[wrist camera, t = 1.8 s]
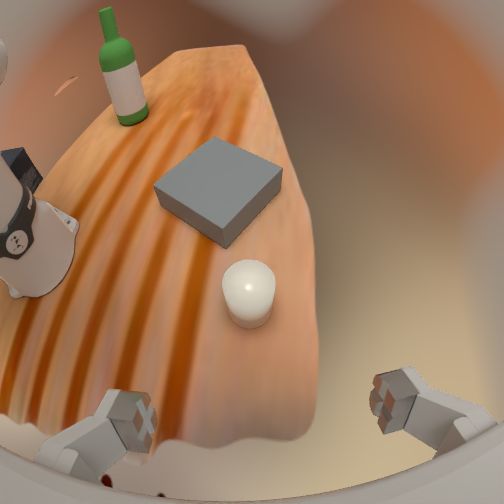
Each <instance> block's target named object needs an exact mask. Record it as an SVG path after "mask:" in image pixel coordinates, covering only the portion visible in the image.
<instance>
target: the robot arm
mask: <svg viewBox="0 0 504 504" xmlns="http://www.w3.org/2000/svg"><path fill="white" fill-rule="evenodd" d="M7 65H8V56H7V50H6V47H5V45H4V43H3V41H2V40H1V39H0V85H1V84H2V82H3V81H4V79H5V75H6V71H7ZM78 228H79V222H78V221H77V220H76V219H75V218H73V217H71V216H69V215H67V214H66V213H64V212H62V211H60V210H59V209H57V208H55V207H54V206H52V205H51V204H50V203H49V202H48V203H47V202H45V201H43V200H40V199H38V198H35V197H34V196H33V195H32V193H31V191H30V190H29V189H28V187H26V186H25V185H24V184H23V183H22V182H20V181H18V180H17V178H16V177H15V175H14V174H13V172H12V171H11V170H10V168H9V167H8V165H7V164H6V162H5V161H4V159H3V158H2V156H1V155H0V278H1V279H2V280H3V281H4V282H6V283H7V285H8V289H9V293H10V295H11V296H12V297H13V298H14V299H16V298H20V297H22V296H29V297H39V296H42V295H44V294H46V293H48V292H50V291H51V290H52V289H53V288H55V287H56V286H57V285H58V283H59V282H60V281H61V280H62V279H63V277H64V276H65V274H66V272H67V270H68V268H69V266H70V264H71V261H72V258H73V254H74V241H75V236H76V233H77V231H78ZM373 385H374V386H375V388H374V389H373V390H372V391H371V393H370V398H369V401H370V408H371V411H372V413H373V415H375V416H377V417H379V419H378V425H379V427H380V429H381V431H382V433H383V434H388V433H391V432H395V431H398V430H402V429H404V431H406V432H408V433H409V434H411V435H413V436H414V437H416V438H417V439H419V440H420V441H422V442H424V443H425V444H427V445H428V446H430V447H432V448H433V449H435V450H437V452H436V454H435V456H434V457H433V459H432V460H430V461H427V462H425V463H422V464H420V465H418V466H415V467H412V468H410V469H407V470H405V471H402V472H399V473H396V474H393V475H390V476H387V477H384V478H381V479H377V480H374V481H371V482H367V483H364V484H360V485H356V486H352V487H348V488H344V489H339V490H335V491H330V492H325V493H320V494H314V495H307V496H301V497H293V498H284V499H274V500H261V501H239V502H238V501H237V502H218V501H194V500H182V499H172V498H164V497H157V496H150V495H144V494H138V493H133V492H127V491H123V490H119V489H114V488H110V487H106V486H104V485H103V484H102V483H101V481H100V480H99V479H98V477H100V476H101V475H102V474H103V473H104V472H105V471H107V469H109V468H110V467H111V466H112V465H113V464H115V463H116V462H117V461H118V460H119V459H120V458H121V457H122V456H124V455H125V454H126V453H127V451H133V452H142V453H149V450H150V447H151V443H152V438H151V436H150V435H151V434H152V433H154V432H155V430H156V426H157V417H156V412H155V410H154V408H153V407H152V406H150V405H149V404H150V401H151V399H150V396H149V394H148V393H146V392H138V391H129V390H118V389H109V390H107V392H106V394H105V396H104V397H103V399H102V401H101V403H100V405H99V407H98V408H97V410H96V412H95V414H94V416H91V415H90V416H88V417H86V418H85V419H83V420H81V421H79V422H78V423H76V424H74V425H72V426H70V427H69V428H67V429H65V430H63V431H61V432H60V433H58V434H56V435H54V436H52V437H50V438H49V439H47V440H45V442H44V444H43V445H42V447H41V449H40V450H39V452H38V454H37V456H36V457H35V459H34V461H31V460H29V459H26V458H24V457H22V456H20V455H18V454H16V453H14V452H12V451H10V450H8V449H6V448H4V447H2V446H0V504H504V421H502V422H500V423H499V424H498V423H496V421H495V420H494V419H493V418H492V417H491V415H490V414H489V413H488V412H487V411H486V409H485V408H484V407H483V406H481V405H478V404H475V403H473V402H470V401H467V400H464V399H461V398H459V397H456V396H453V395H450V394H448V393H445V392H442V391H440V390H437V389H431V388H430V387H429V386H428V384H427V383H426V382H425V381H424V379H423V378H422V377H421V376H420V375H419V373H418V372H417V371H416V370H415V368H414V367H412V366H408V367H404V368H401V369H398V370H394V371H390V372H386V373H382V374H377V375H375V377H374V380H373Z"/></svg>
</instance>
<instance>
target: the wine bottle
mask: <svg viewBox="0 0 504 504" xmlns="http://www.w3.org/2000/svg"><path fill="white" fill-rule="evenodd" d="M99 16H100V21H101V25H102V30H103V33H104V38H105V44H104V45H103V46H102V48H101V50H100V54H99V61H100V65H101V68H102V72H103V75H104V78H105V81H106V85H107V88H108V91H109V94H110V96H111V100H112V103H113V106H114V109H115V112H116V114H117V117H118V120H119V122H120V123H121V124H123V125H133V124H136V123H138V122H140V121H142V120H143V119H144V118H146V116H147V115H148V106H147V102H146V98H145V94H144V90H143V86H142V83H141V79H140V75H139V71H138V67H137V62H136V58H135V55H134V51H133V47H132V45H131V43H129V41H127V40H126V39H124V38H120V37H119V34H118V30H117V26H116V22H115V17H114V13H113V8H112V7H108V8H105V9H102V10H100V11H99Z"/></svg>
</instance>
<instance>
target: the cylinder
mask: <svg viewBox="0 0 504 504" xmlns="http://www.w3.org/2000/svg"><path fill="white" fill-rule="evenodd" d="M275 284H276V282H275V277H274V274H273V272H272V271H271V269H270V268H269V267H268V266H267V265H265V264H264V263H262V262H260V261H257V260H251V259H247V260H241V261H238V262H236V263H234V264H233V265H231V266H230V267H229V268H228V269H227V271H226V272H225V274H224V276H223V280H222V288H223V292H224V296H225V300H226V304H227V308H228V311H229V315H230V317H231V319H232V320H233V322H234V323H235V324H237V325H238V326H240V327H242V328H246V329H254V328H258V327H260V326H262V325H263V324H265V323H266V322H267V320H268V319H269V317H270V315H271V310H272V304H273V298H274V292H275Z"/></svg>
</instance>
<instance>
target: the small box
mask: <svg viewBox="0 0 504 504" xmlns="http://www.w3.org/2000/svg"><path fill="white" fill-rule="evenodd" d="M0 155H1V156H2V158H3V159H4V161H5V162H6V164H7V165H8V167H9V168H10V170H11V171H12V172H13V174H14V175H15V177H16V178H17V180H18V181H20V182H22V183H23V184H24V185H25V186H26V187H28V189H29V190H30V191H31V193H32V195H33V194H34V192H35V190H36V189H37V187H38V186H39V184H40V183H41V181H42V179H43V177H42V176H41V175H40V173H39V172H38V170H37V169H36V167H35V166H34V164H33V163H32V161H31V160H30V158H29V156H28V155H27V153H26V151H25V149H24V148H23V147H21V148H15V149H10V150H4V151H1V152H0Z"/></svg>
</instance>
